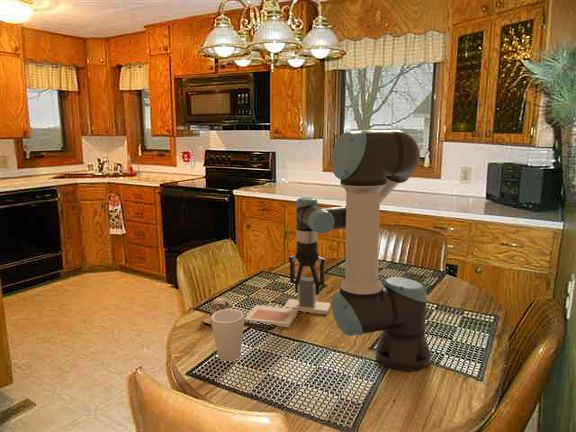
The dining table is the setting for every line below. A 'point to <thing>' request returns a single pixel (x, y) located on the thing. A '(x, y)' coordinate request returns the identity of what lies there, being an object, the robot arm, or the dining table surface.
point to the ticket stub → (308, 298)
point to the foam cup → (228, 333)
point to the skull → (219, 305)
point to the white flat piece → (272, 315)
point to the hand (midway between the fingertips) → (307, 301)
